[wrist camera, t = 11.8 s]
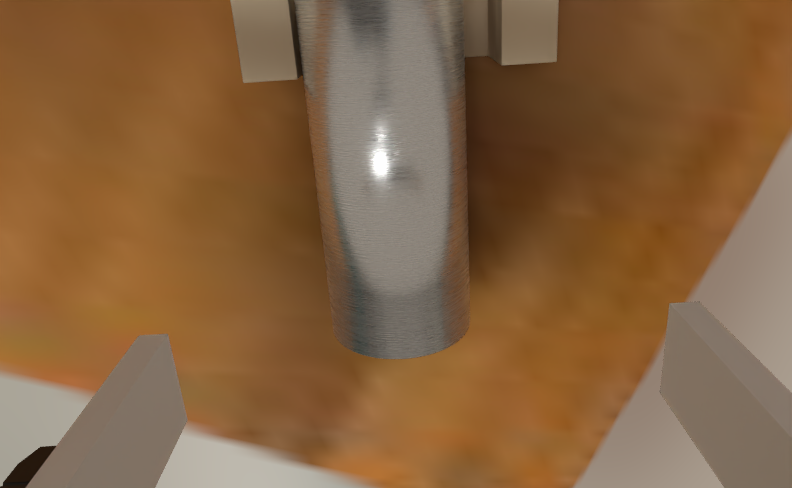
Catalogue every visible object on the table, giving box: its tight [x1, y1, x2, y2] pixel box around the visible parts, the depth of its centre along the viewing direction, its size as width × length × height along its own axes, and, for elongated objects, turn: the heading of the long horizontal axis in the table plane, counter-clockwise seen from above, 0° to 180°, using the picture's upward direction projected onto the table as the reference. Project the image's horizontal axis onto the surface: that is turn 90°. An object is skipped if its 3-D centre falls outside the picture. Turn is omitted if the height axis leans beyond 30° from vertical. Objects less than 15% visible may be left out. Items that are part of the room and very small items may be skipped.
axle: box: [294, 0, 470, 359], centre depth 25 cm, size 14×6×6 cm, turn 4°
